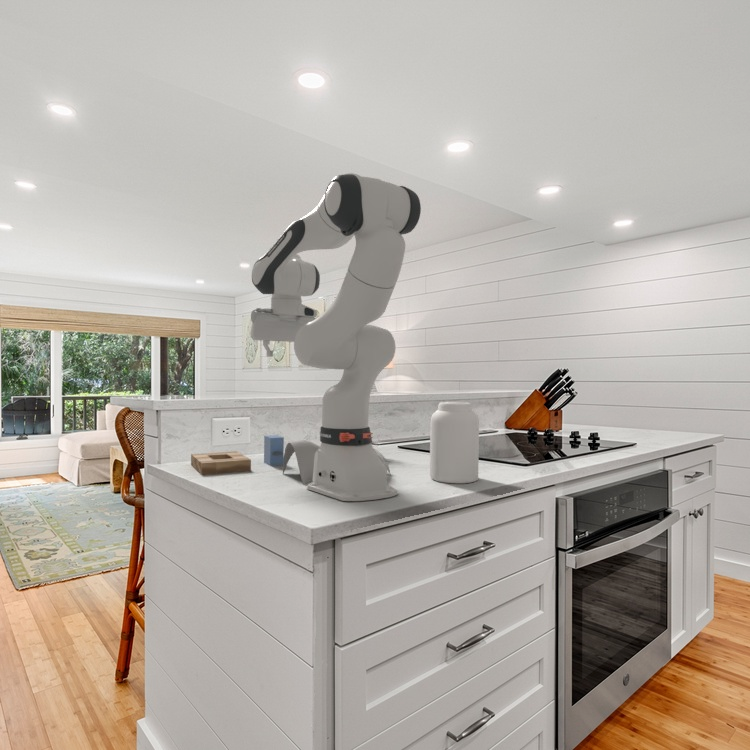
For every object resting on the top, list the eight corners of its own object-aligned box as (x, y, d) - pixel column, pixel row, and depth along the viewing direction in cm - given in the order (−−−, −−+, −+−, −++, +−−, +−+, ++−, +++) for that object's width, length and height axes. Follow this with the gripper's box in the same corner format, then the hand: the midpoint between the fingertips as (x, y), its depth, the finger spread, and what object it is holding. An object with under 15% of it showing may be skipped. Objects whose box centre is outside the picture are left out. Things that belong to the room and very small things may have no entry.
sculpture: (358, 465, 153) (359, 432, 153) (393, 477, 136) (393, 440, 136) (278, 473, 140) (278, 437, 140) (305, 487, 124) (305, 446, 124)
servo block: (285, 465, 149) (285, 438, 149) (271, 466, 148) (272, 438, 147) (275, 460, 157) (275, 434, 157) (262, 461, 155) (262, 435, 155)
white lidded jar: (440, 485, 126) (441, 403, 126) (422, 475, 138) (423, 400, 138) (487, 483, 129) (488, 403, 129) (465, 473, 141) (466, 400, 141)
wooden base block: (250, 470, 141) (250, 459, 141) (201, 474, 135) (201, 463, 135) (236, 461, 155) (236, 451, 155) (191, 464, 149) (191, 454, 149)
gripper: (254, 306, 144) (253, 356, 144) (322, 311, 153) (321, 357, 154) (248, 308, 149) (247, 356, 149) (314, 313, 159) (313, 357, 159)
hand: (285, 357), depth 152 cm, fingers open, 8 cm apart
